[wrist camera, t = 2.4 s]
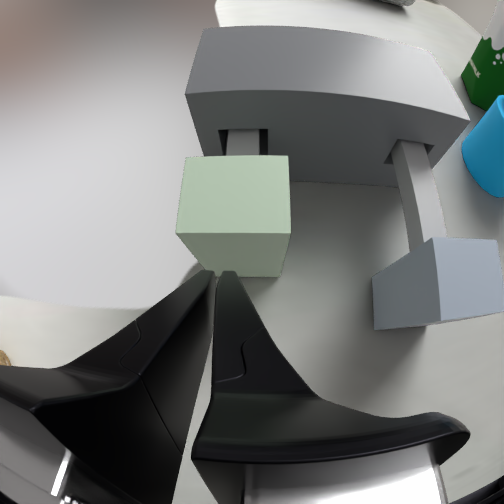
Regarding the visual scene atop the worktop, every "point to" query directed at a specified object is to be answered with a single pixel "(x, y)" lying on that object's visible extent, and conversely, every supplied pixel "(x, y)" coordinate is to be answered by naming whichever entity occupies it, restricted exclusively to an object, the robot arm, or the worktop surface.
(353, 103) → the grey curved block
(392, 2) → the grey rounded oblong block
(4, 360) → the sprinkles bottle
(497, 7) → the milk carton
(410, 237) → the grey key
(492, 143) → the mug
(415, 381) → the worktop surface
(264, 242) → the green key
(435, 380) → the worktop surface
